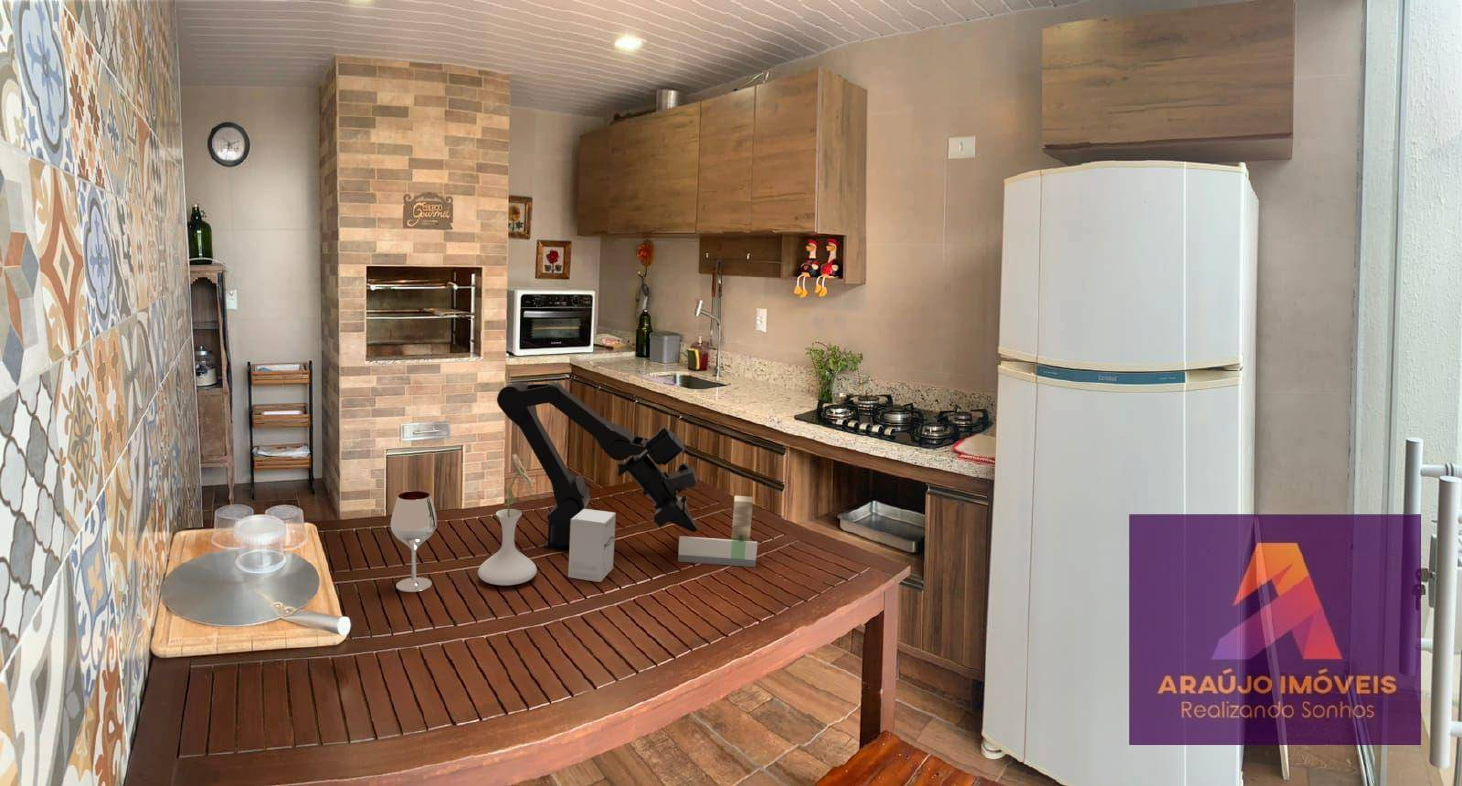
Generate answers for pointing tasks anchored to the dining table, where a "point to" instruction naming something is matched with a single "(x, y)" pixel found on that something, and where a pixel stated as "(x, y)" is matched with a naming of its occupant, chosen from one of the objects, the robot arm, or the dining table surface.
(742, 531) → the beige brown box
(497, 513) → the flower in vase
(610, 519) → the supplement box
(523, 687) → the dining table surface
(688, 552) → the board
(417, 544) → the wineglass
